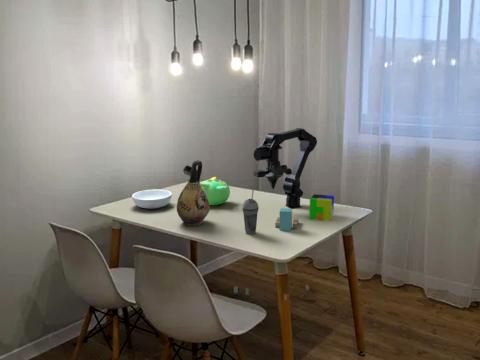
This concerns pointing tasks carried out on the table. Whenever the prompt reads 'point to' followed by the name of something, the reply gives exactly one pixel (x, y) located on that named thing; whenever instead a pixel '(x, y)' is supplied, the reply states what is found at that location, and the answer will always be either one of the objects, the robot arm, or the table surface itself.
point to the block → (285, 219)
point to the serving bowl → (152, 198)
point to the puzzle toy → (321, 207)
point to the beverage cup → (250, 215)
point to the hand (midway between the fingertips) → (272, 188)
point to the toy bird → (216, 191)
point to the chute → (294, 224)
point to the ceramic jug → (193, 198)
